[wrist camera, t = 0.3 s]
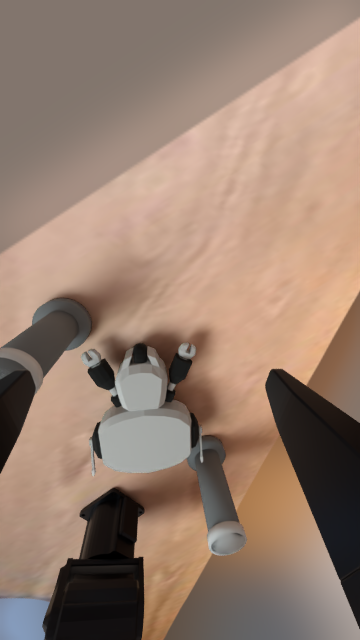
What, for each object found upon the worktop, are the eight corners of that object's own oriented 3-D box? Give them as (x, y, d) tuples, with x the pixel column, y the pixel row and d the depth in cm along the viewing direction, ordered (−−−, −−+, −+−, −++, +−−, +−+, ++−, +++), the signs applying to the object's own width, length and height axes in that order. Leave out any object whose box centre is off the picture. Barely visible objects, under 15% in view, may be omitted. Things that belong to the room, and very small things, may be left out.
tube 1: (66, 354, 24) (11, 429, 14) (26, 319, 22) (-67, 379, 13) (102, 325, 23) (68, 384, 14) (64, 287, 21) (-5, 324, 12)
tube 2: (200, 469, 32) (221, 565, 22) (178, 450, 30) (190, 546, 21) (229, 449, 31) (263, 540, 22) (208, 429, 29) (235, 518, 20)
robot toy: (83, 338, 24) (100, 451, 28) (68, 356, 20) (91, 486, 24) (195, 331, 26) (197, 440, 30) (204, 346, 21) (204, 471, 25)
